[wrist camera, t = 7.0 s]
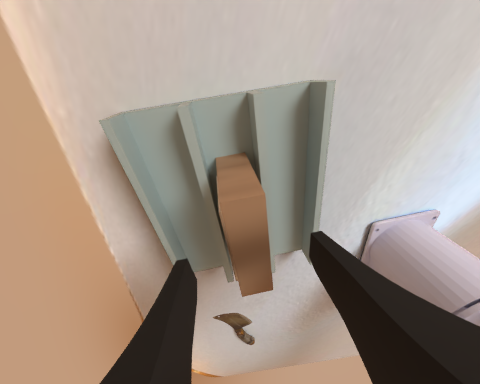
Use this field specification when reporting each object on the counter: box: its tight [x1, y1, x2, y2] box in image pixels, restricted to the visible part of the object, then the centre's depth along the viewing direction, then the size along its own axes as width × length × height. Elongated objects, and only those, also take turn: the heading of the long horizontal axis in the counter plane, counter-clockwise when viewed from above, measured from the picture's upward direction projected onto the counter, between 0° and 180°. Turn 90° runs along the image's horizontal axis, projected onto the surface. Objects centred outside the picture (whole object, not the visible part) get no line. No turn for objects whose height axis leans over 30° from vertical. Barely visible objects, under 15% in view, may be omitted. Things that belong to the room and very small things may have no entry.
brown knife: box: [213, 313, 255, 345], centre depth 29 cm, size 12×1×5 cm
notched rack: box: [99, 80, 336, 282], centre depth 16 cm, size 16×13×3 cm
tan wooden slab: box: [216, 152, 273, 297], centre depth 13 cm, size 8×2×6 cm, turn 8°
